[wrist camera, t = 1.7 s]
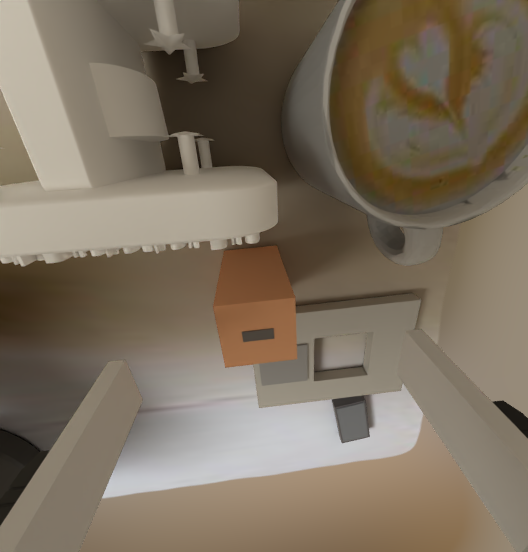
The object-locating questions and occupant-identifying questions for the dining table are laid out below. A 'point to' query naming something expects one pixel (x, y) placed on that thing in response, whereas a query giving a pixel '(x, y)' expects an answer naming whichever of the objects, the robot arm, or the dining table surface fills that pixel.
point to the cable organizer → (115, 133)
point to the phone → (351, 418)
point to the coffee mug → (413, 114)
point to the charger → (255, 308)
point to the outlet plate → (335, 322)
